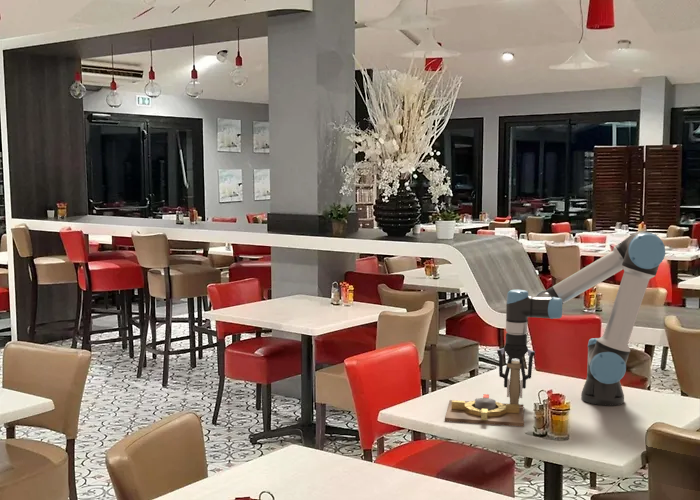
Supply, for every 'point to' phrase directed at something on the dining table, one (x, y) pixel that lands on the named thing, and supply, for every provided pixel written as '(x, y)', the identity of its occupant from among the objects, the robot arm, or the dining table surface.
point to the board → (489, 404)
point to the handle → (514, 381)
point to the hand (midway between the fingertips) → (514, 396)
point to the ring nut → (485, 413)
